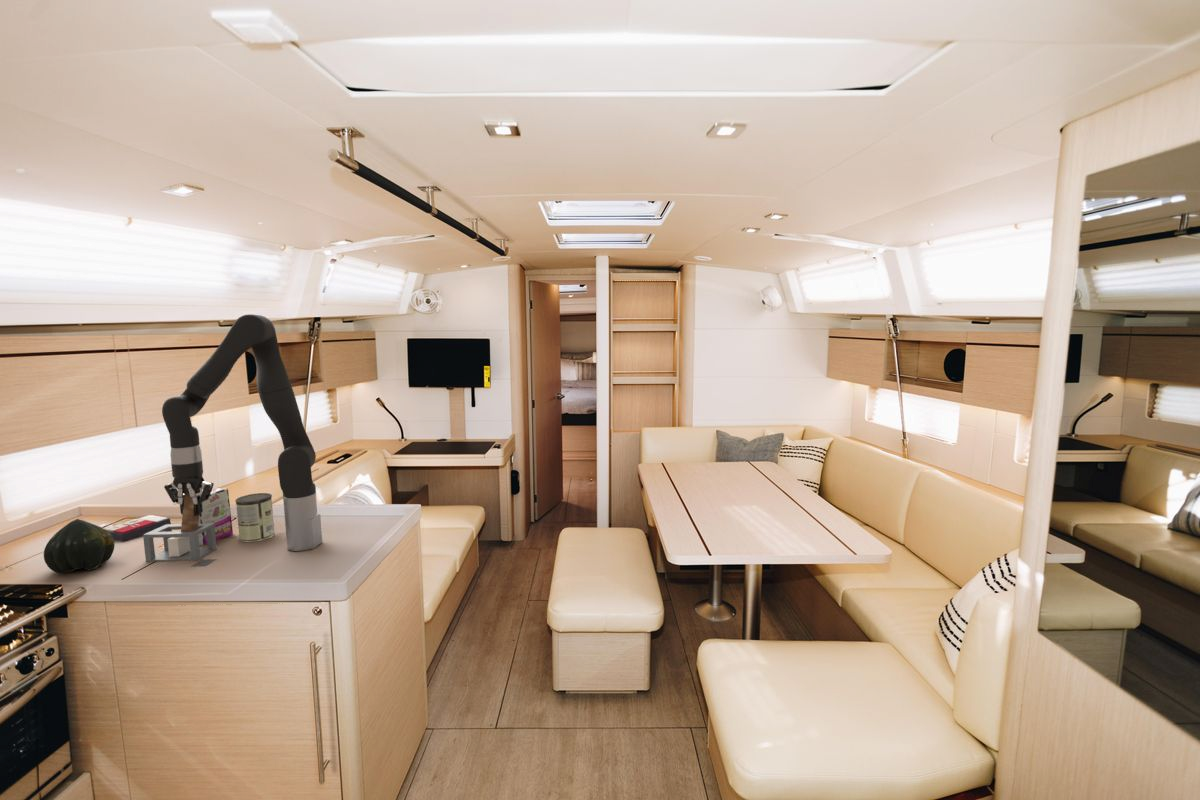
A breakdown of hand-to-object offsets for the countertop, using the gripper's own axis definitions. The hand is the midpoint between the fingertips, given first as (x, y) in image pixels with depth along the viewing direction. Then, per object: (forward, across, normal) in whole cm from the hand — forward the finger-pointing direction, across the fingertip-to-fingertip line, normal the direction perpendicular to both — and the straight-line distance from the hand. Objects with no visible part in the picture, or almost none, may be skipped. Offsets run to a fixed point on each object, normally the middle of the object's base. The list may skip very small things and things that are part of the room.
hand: (191, 514), depth 166 cm
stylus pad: (+13, -7, +7) cm, 16 cm away
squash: (+13, +28, +8) cm, 32 cm away
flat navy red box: (+14, +35, -23) cm, 44 cm away
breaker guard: (+13, +4, +1) cm, 14 cm away
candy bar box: (+13, +4, -13) cm, 19 cm away
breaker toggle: (+12, +4, +1) cm, 13 cm away
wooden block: (+5, 0, +2) cm, 5 cm away
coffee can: (+13, -10, -14) cm, 22 cm away
